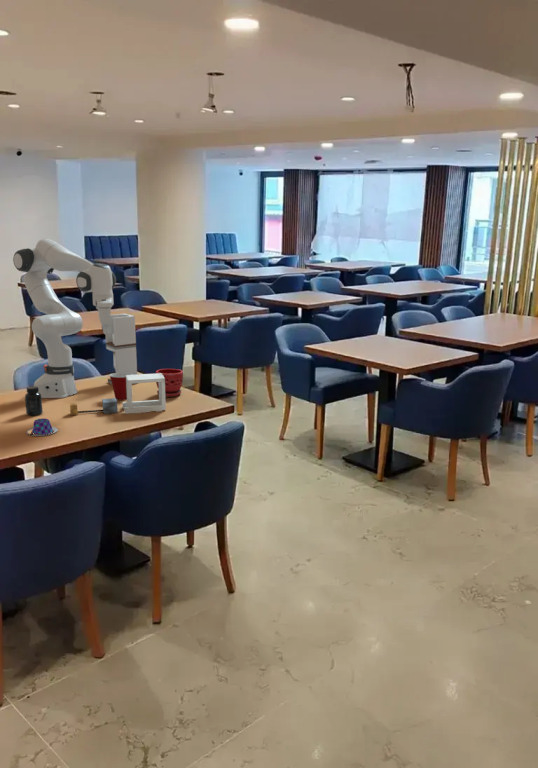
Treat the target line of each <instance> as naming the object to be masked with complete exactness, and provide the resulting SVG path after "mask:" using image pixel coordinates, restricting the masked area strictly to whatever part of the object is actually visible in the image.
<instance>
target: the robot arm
mask: <svg viewBox="0 0 538 768" xmlns="http://www.w3.org/2000/svg"><path fill="white" fill-rule="evenodd" d="M12 260H13V261H12V262H13V264H14V267H15V268H16V269H17V271H19V272H22V273H23V272H24V273H25V274H24V276H23V282H24V285H25V289H26V290H27V293H28V296H29V298H30V299H31V301H32V303H33V305H34V307H35V309H36V310H37V311H38V312H41V313H42V314H43V315H40V316H38V317H36V318H35V317H34V319H33V321H32V323H31V332H33V334H34V336H35V337H36V338H38V339H39V340H41V341H42V343H43V344H44V346H45V350H46V354H47V362H48V363H47V364H44V365H43V369H44V373H43V374H42V375H41V376H40V377H38V378H37V379H36V380H35V381H34V383H33V386H37V387H38V390H39V391H38V392H39V393H40V394H41V398H42V399H63V398H64V399H65V398H67V397H69V395H70V396H74V395H76V394H77V393H78V389H77V386H76V382H75V376H74V375H75V367H74V363H73V357H72V356H73V353H72V352H73V351H72V348H71V347H70V346H69V345H67V344H65V343H64V341H63V340H62V337H64V336H70V335H74V334H77V333H79V332H80V331H81V330H82V328H83V326H84V325H83V324H84V322H83V318H82V316H81V315H80V314H79V313H78V312H75V311H74V310H71V309H70V308H68V307H67V306H66V305H65V304H64V303H62V301H60V299H59V298H58V296H57V294H56V293H55V291H54V289H53V287H52V285H51V282H49V279H48V277H47V276H48V275H47V274H49V275H52V274H53V272H54V270H56V271H58V272H76V273H77V272H78V273H77V275H76V279H75V280H76V282H75V283H76V285H77V288H78V289H79V290H80V291H81V292H82V293H92V305H93V306H95V309H96V310H98V311H97V312H98V319H99V322H100V323H101V330H102V332H103V334H104V335H105V334H108V325H109V324H110V316H111V315H112V314H111V313H112V312H111V311H112V307H113V306H114V293H113V289H114V288H115V286H116V284H117V277H116V275H115V273H114V272H113V270H112V269H111V266H110V265H108V264H105V263H102V262H101V263H100V262H99V263H97V262H96V263H94V262H92V261H91V260H89V259H87V258H85V257H83V256H81V255H79V254H77V253H75V252H73V251H72V250H69V249H68V248H66V247H65V246H63V245H62V244H60V243H59V242H57V241H56V240H53V239H50V238H46V237H45V238H41V239H40V240H38V241H37V242H36V245H35V247H31V248H29V247H28V248H21V249H19V250H17V251H15V252H14V255H13V259H12ZM44 314H45V315H44ZM73 394H74V395H73Z"/></svg>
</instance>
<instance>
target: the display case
mask: <svg viewBox="0 0 538 768" xmlns="http://www.w3.org/2000/svg"><path fill="white" fill-rule="evenodd" d="M104 335H105V348H106V350H108V351H111V352H112V353H113V355H112V356H113V369H114V370H115V373H129V374H133V375H138V362H137V337H136V316H135V315H132V314H128V313H117V314H111V316H110V324H109V325H108V334H104ZM108 382H109V383H108ZM107 383H108V384H110V383H111V384H110V385H112V381H111V378H110V377H109V378H107ZM137 384H138V383H133V384H132V385H137Z"/></svg>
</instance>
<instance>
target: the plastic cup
mask: <svg viewBox="0 0 538 768" xmlns="http://www.w3.org/2000/svg"><path fill="white" fill-rule="evenodd" d="M126 375H133V374H129V373H116V372H115V373H110V374H109V379H110V378H111V381H112V384H111V386H112V390H113V394H114V398H116V400H117V399H118V400H117V401H124V399H126V400H127V389H126Z"/></svg>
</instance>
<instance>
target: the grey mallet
mask: <svg viewBox="0 0 538 768" xmlns="http://www.w3.org/2000/svg"><path fill="white" fill-rule="evenodd" d="M118 410H119V409H118V400H117V399H116V398H115V397H114V398H113V397H112V398H102V409H91V410H78V403H77V402H71V403H69V412H70V416H78V414H85V413H97V412H103V414H115V413H116V414H117V413H118V412H119V411H118Z"/></svg>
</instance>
